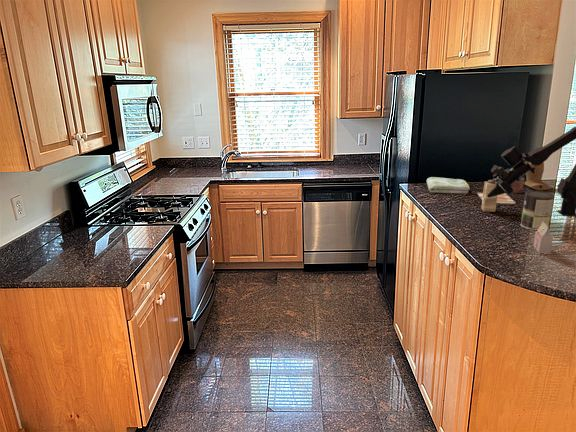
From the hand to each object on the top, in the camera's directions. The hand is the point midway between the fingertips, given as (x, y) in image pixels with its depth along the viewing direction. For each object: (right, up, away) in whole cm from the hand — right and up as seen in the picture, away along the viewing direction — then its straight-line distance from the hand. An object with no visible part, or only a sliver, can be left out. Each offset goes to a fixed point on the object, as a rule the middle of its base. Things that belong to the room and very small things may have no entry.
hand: (486, 195), depth 202 cm
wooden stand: (+44, +6, +38) cm, 58 cm away
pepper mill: (+2, -7, +2) cm, 7 cm away
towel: (-4, +5, +40) cm, 40 cm away
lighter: (+29, +3, +32) cm, 43 cm away
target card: (+13, -1, +19) cm, 23 cm away
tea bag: (-1, -22, -45) cm, 50 cm away
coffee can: (+10, -14, -21) cm, 27 cm away
